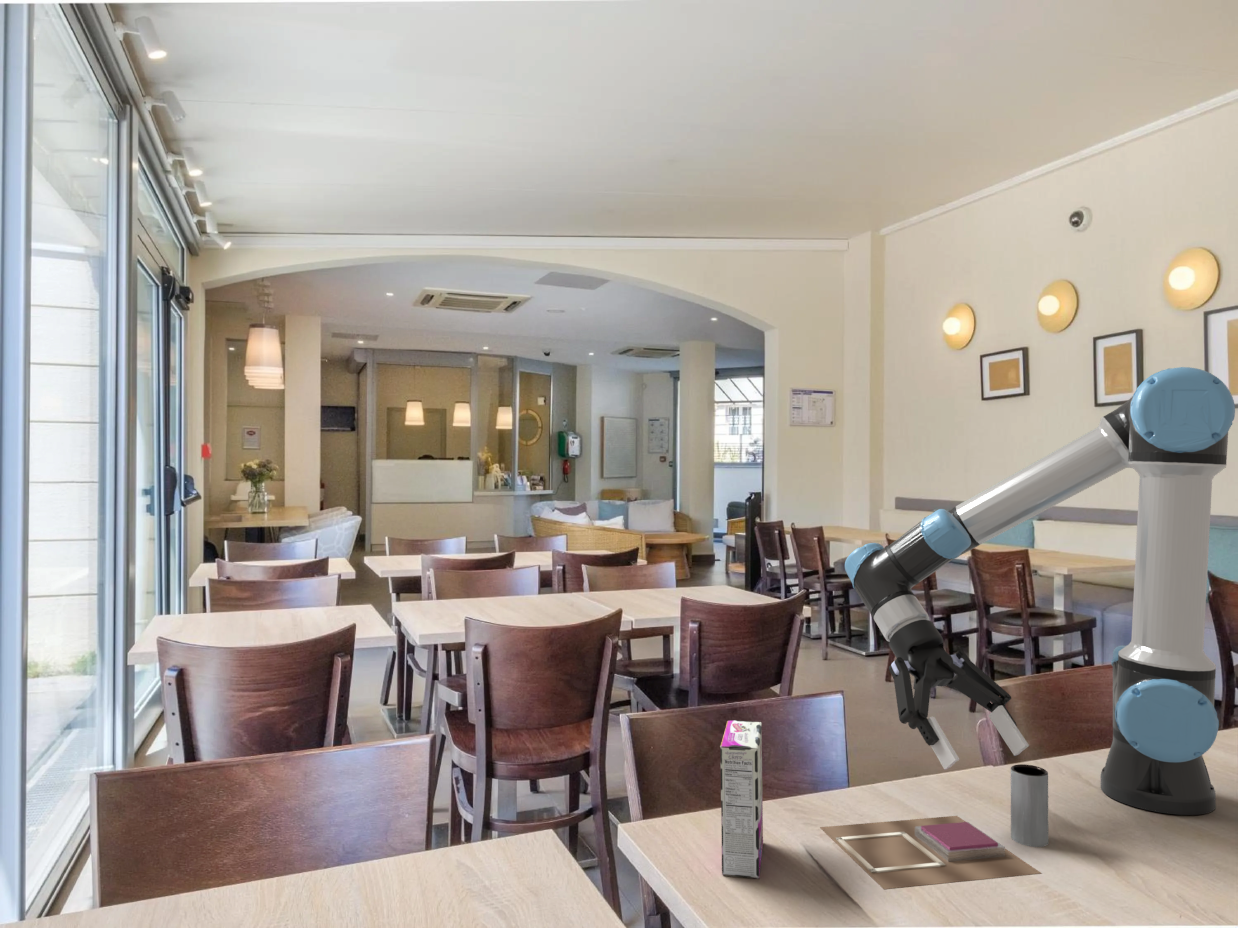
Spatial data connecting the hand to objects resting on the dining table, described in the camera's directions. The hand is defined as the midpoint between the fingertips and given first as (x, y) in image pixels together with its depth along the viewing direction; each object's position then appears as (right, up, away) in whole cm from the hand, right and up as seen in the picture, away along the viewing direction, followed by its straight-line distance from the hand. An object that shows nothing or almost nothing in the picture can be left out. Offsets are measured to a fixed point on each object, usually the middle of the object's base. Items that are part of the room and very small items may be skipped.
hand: (987, 757), depth 121 cm
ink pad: (-7, -9, -7) cm, 13 cm away
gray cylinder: (+3, -10, -5) cm, 12 cm away
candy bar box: (-36, -10, -9) cm, 38 cm away
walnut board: (-12, -10, -8) cm, 18 cm away
